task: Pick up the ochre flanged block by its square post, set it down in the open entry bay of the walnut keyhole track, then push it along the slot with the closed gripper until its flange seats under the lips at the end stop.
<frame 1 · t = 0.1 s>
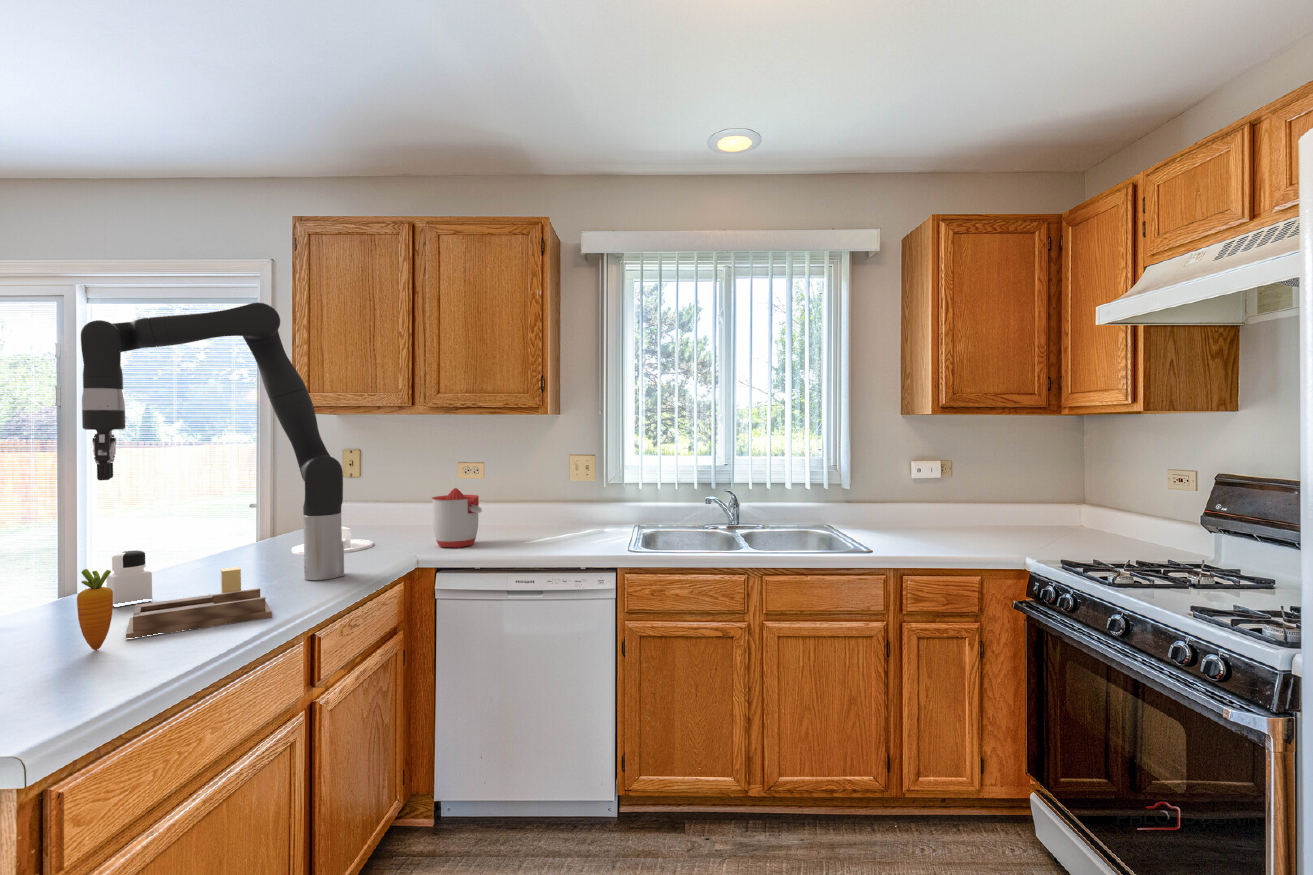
hand: (105, 479, 148), 29 cm above the worktop, tool pointing down, fingers open, 8 cm apart
carrot: (96, 651, 117), on the worktop
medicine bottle: (129, 603, 151), on the worktop
keyhole track: (201, 620, 135), on the worktop
citrus juicer: (458, 546, 222), on the worktop
dish: (333, 549, 220), on the worktop
flanged block: (231, 603, 149), on the worktop
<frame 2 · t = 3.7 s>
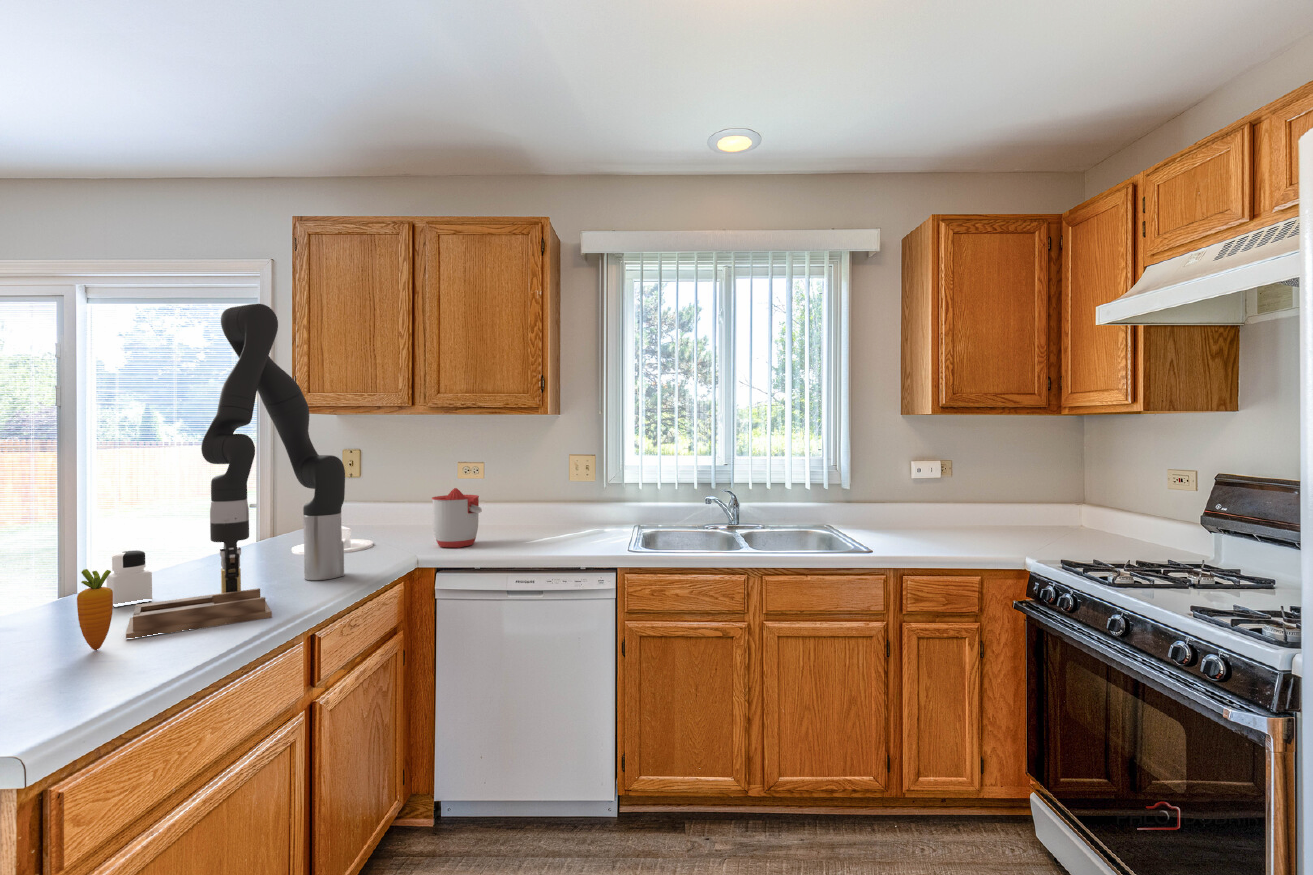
hand: (231, 593, 149), 2 cm above the worktop, tool pointing down, fingers closed on flanged block, 3 cm apart
flanged block: (231, 602, 149), on the worktop, touching gripper
everything else where it was.
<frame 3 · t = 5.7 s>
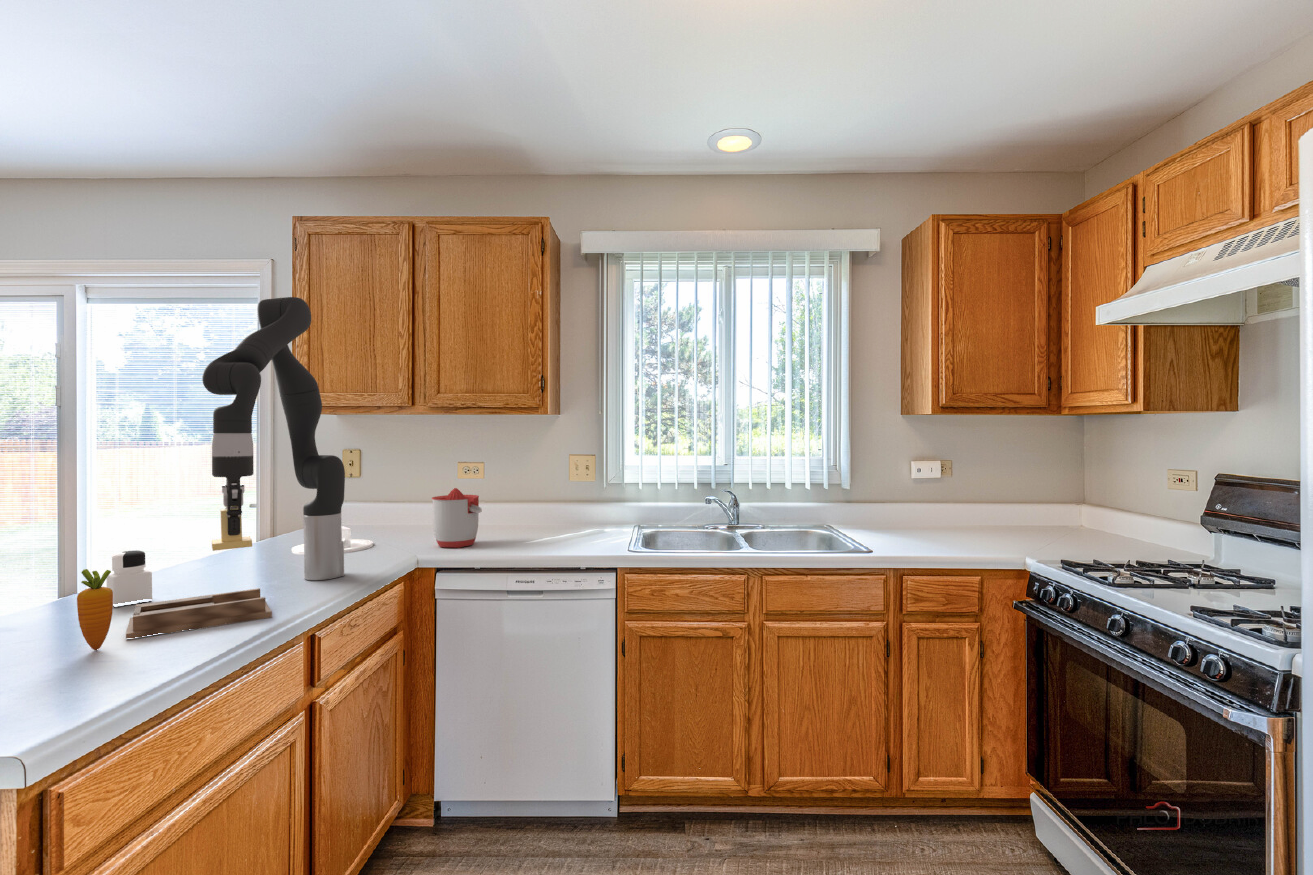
hand: (233, 533, 139), 18 cm above the worktop, tool pointing down, fingers closed on flanged block, 3 cm apart
flanged block: (231, 546, 139), point 15 cm above the worktop, touching gripper
everything else where it was.
when the fingers open (5 cm above the worktop, at t = 7.5 s): flanged block stays where it is, resting on keyhole track.
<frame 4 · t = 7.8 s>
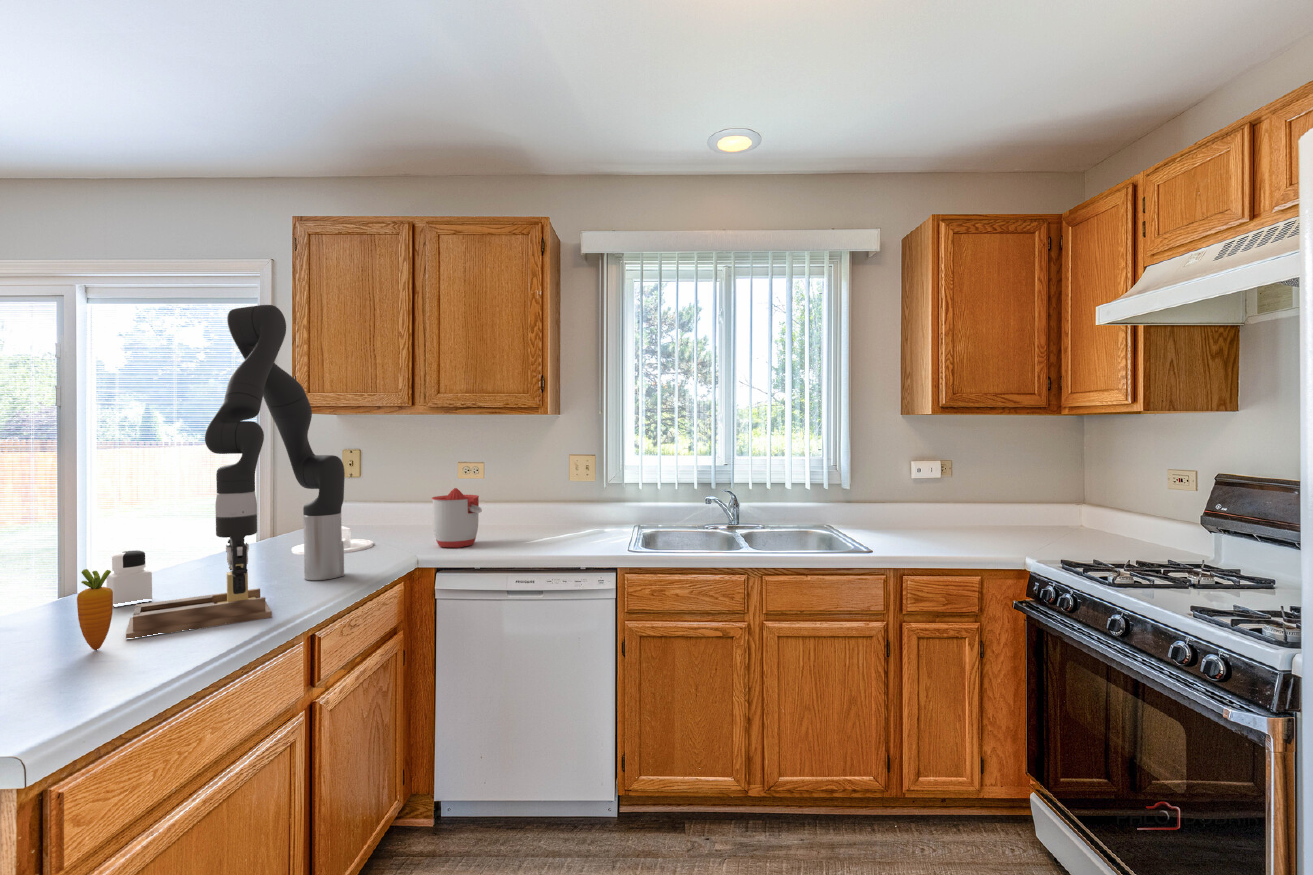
hand: (238, 589, 139), 5 cm above the worktop, tool pointing down, fingers open, 6 cm apart
flanged block: (237, 609, 139), point 1 cm above the worktop, touching keyhole track
everything else where it was.
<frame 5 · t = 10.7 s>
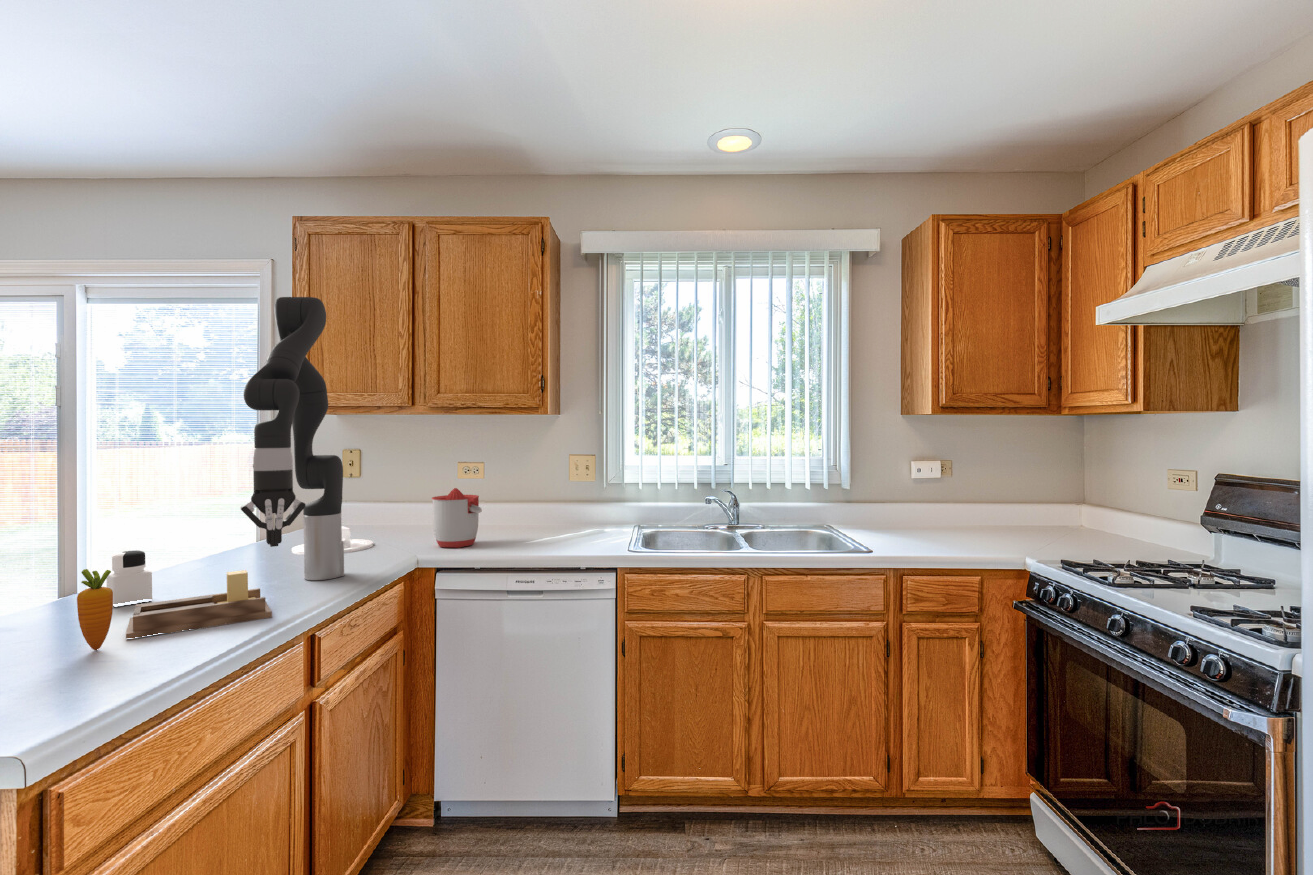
hand: (274, 545, 143), 14 cm above the worktop, tool pointing down, fingers closed
nothing on the worktop moved.
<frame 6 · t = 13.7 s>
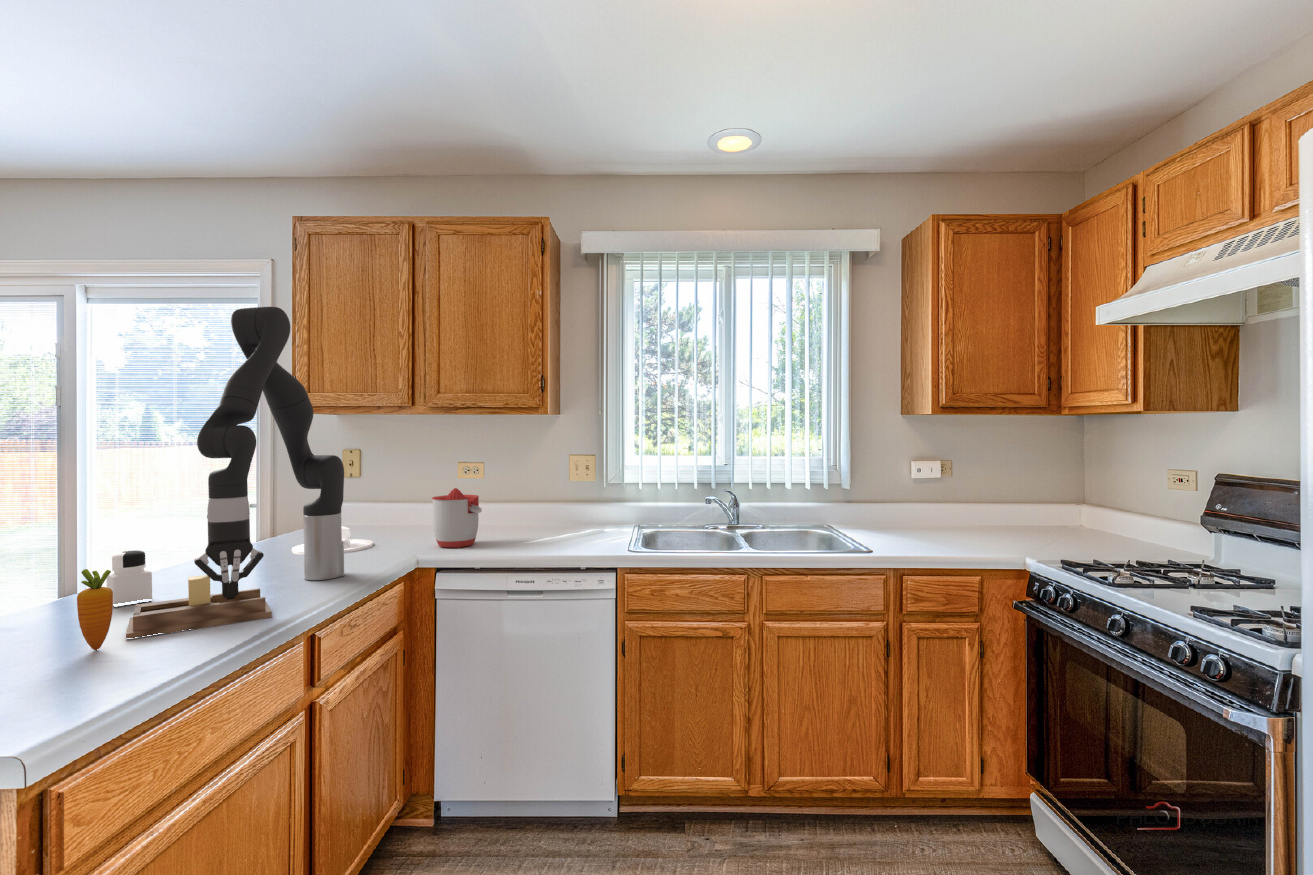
hand: (230, 598, 138), 4 cm above the worktop, tool pointing down, fingers closed
flanged block: (199, 615, 135), point 1 cm above the worktop, touching hand
everything else where it was.
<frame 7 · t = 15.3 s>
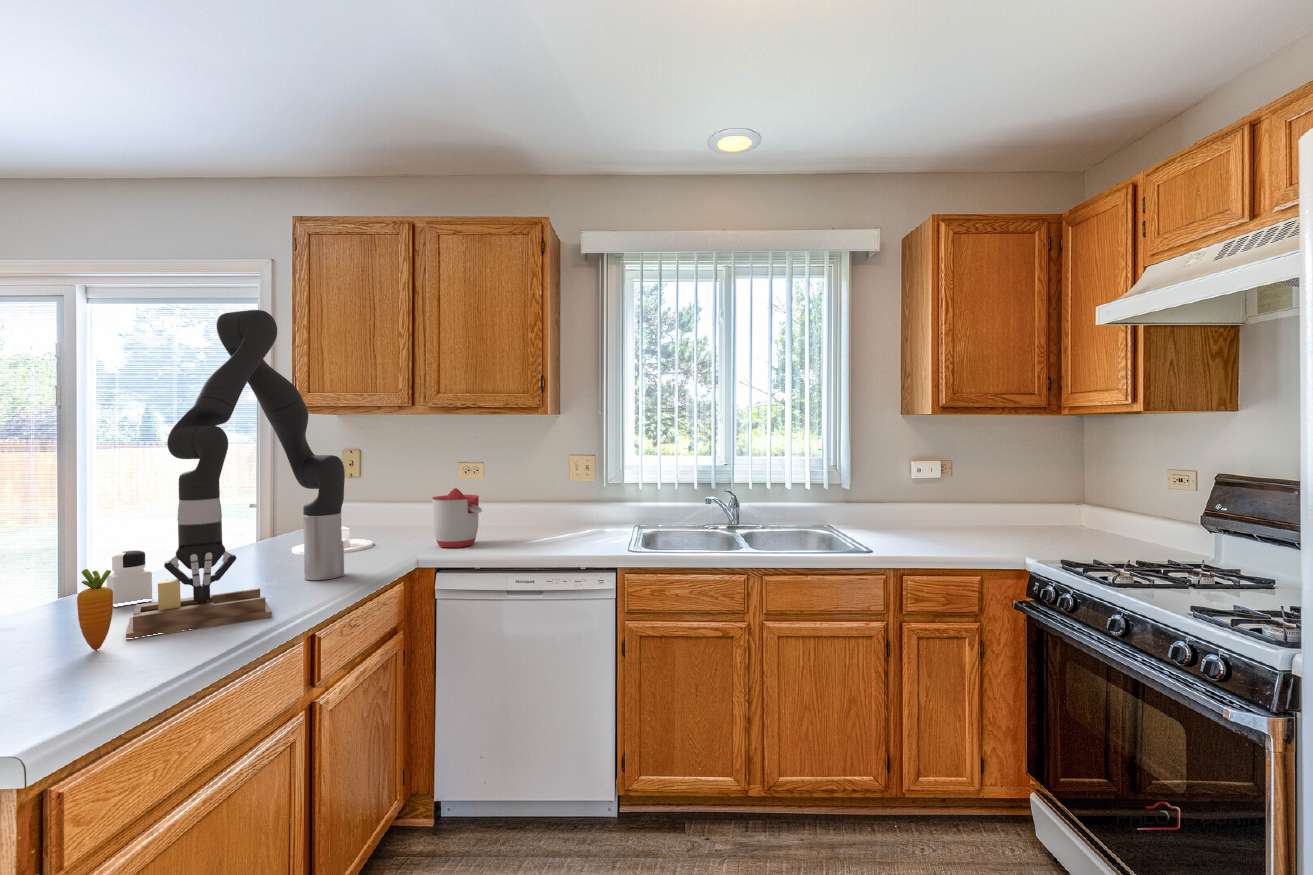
hand: (202, 602, 135), 4 cm above the worktop, tool pointing down, fingers closed
flanged block: (169, 619, 132), point 1 cm above the worktop, touching hand, keyhole track
everything else where it was.
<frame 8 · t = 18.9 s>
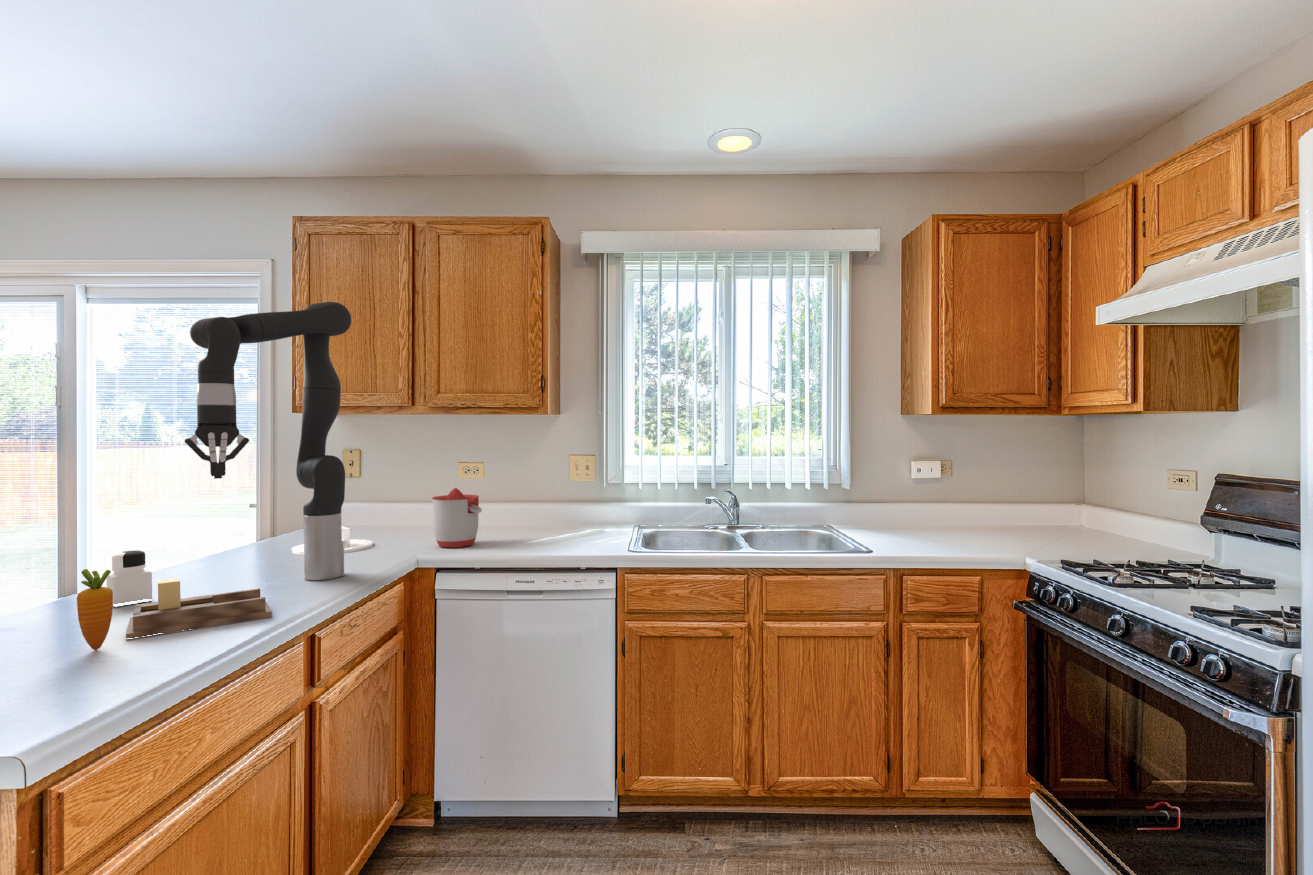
hand: (218, 478, 150), 29 cm above the worktop, tool pointing down, fingers closed
flanged block: (169, 619, 132), point 1 cm above the worktop, touching keyhole track
everything else where it was.
at the end: flanged block 1.1 cm from the target spot on the keyhole track, point 1.2 cm above the keyhole track's base; flanged block tilted 0°; the gripper is holding nothing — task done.
